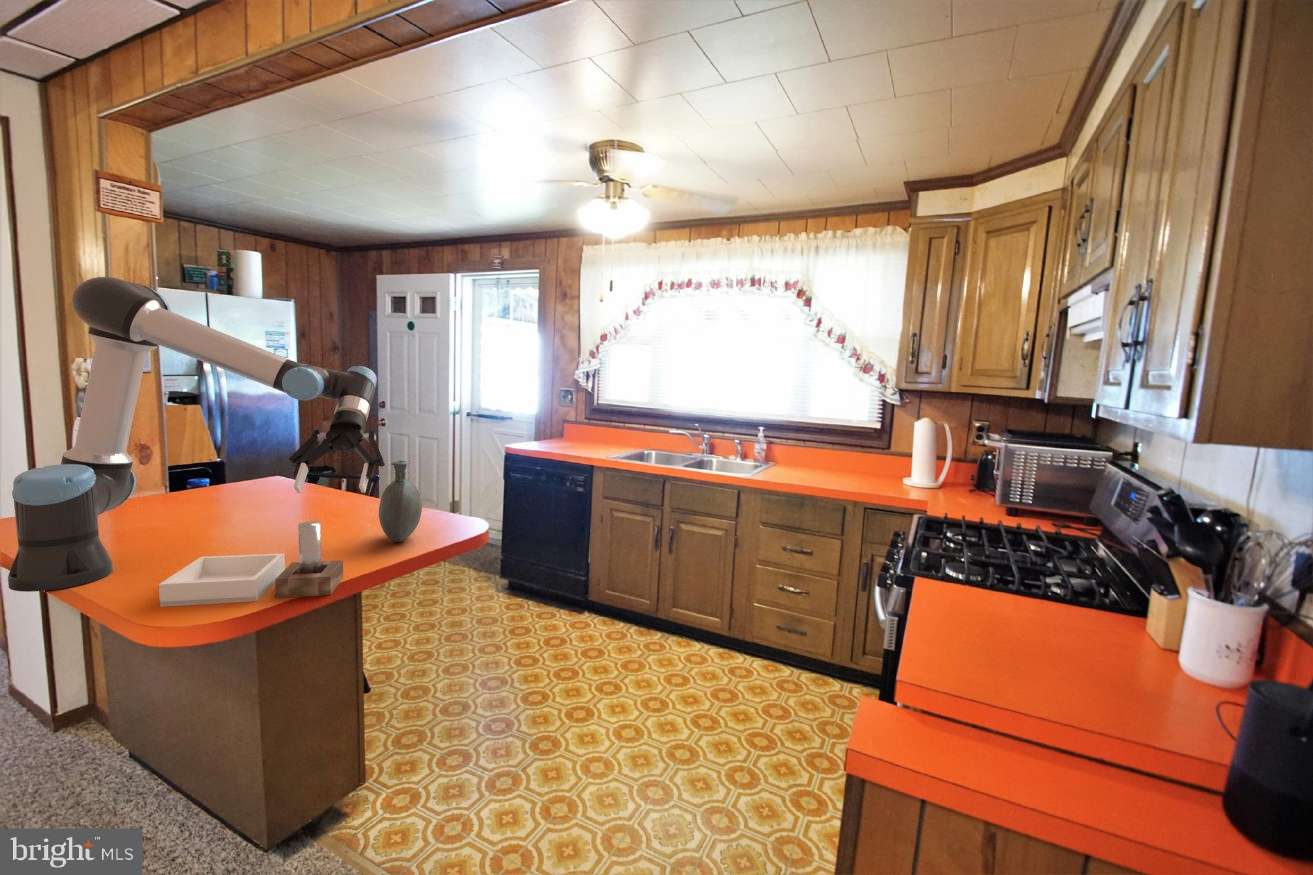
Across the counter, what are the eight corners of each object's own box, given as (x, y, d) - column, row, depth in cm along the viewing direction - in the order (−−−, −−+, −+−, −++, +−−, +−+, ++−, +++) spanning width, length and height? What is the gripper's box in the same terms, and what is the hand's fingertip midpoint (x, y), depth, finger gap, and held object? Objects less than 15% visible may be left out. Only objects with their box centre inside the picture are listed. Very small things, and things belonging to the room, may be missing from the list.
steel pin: (297, 591, 118) (295, 526, 116) (303, 584, 122) (301, 521, 120) (318, 590, 119) (317, 526, 117) (324, 583, 123) (322, 520, 121)
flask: (362, 548, 146) (361, 465, 143) (396, 530, 163) (395, 455, 160) (406, 551, 146) (405, 467, 143) (435, 532, 162) (435, 457, 160)
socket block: (275, 598, 114) (274, 579, 114) (292, 579, 124) (292, 562, 123) (330, 594, 117) (330, 576, 116) (343, 577, 126) (342, 560, 126)
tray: (160, 606, 108) (158, 584, 107) (201, 576, 123) (200, 556, 122) (256, 601, 112) (255, 579, 112) (285, 572, 127) (284, 553, 127)
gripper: (405, 428, 147) (391, 497, 134) (300, 426, 142) (275, 498, 129) (400, 409, 141) (384, 480, 128) (290, 407, 136) (262, 480, 123)
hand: (329, 489), depth 128 cm, fingers open, 13 cm apart
